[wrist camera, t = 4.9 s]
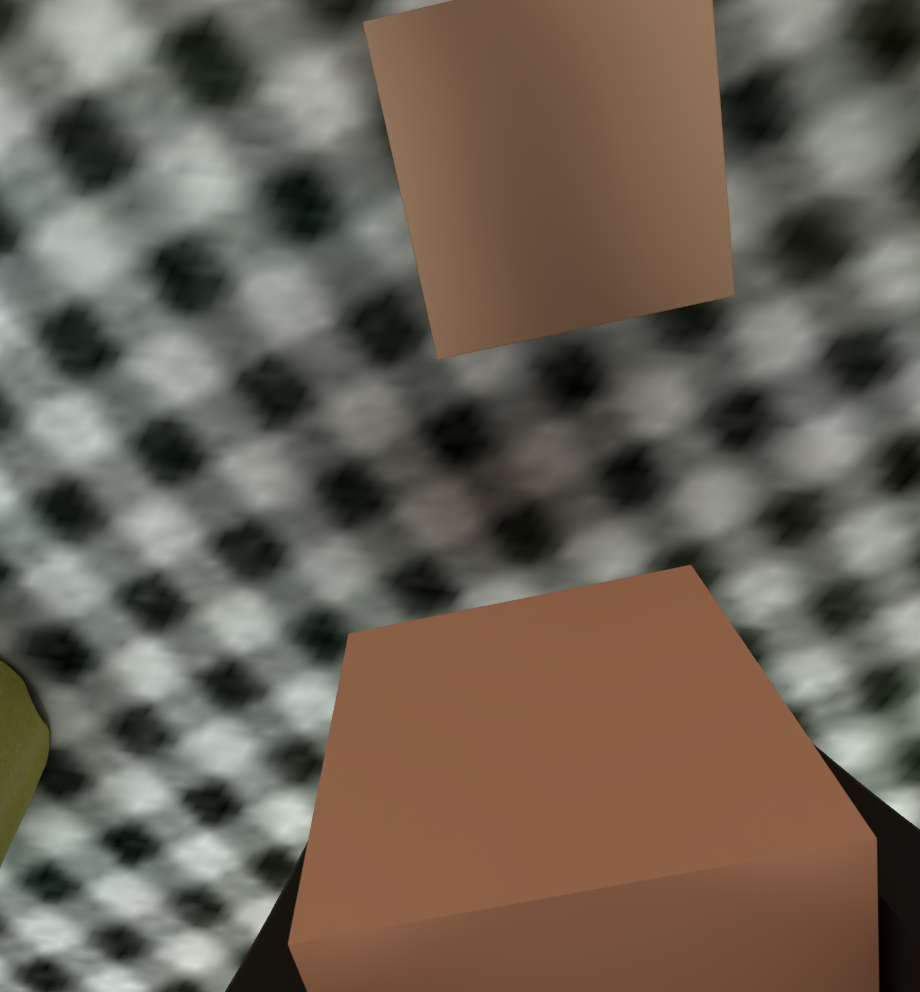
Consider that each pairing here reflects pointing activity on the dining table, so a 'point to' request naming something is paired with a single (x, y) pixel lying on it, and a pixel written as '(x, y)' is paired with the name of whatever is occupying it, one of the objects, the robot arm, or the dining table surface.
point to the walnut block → (556, 161)
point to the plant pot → (18, 753)
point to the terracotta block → (579, 810)
